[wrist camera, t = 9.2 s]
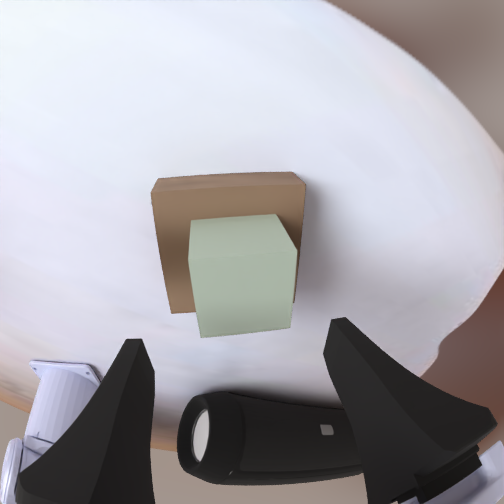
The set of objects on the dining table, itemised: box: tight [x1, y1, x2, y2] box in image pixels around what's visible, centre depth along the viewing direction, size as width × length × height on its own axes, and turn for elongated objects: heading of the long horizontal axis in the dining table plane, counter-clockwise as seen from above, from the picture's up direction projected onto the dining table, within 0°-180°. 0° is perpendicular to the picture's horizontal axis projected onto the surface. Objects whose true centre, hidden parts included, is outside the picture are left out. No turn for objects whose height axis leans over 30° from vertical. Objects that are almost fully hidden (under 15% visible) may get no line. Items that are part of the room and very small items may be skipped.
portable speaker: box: [177, 392, 363, 485], centre depth 27 cm, size 26×10×10 cm, turn 58°
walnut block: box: [151, 172, 306, 314], centre depth 18 cm, size 8×8×3 cm
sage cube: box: [188, 214, 297, 338], centre depth 15 cm, size 4×4×4 cm
